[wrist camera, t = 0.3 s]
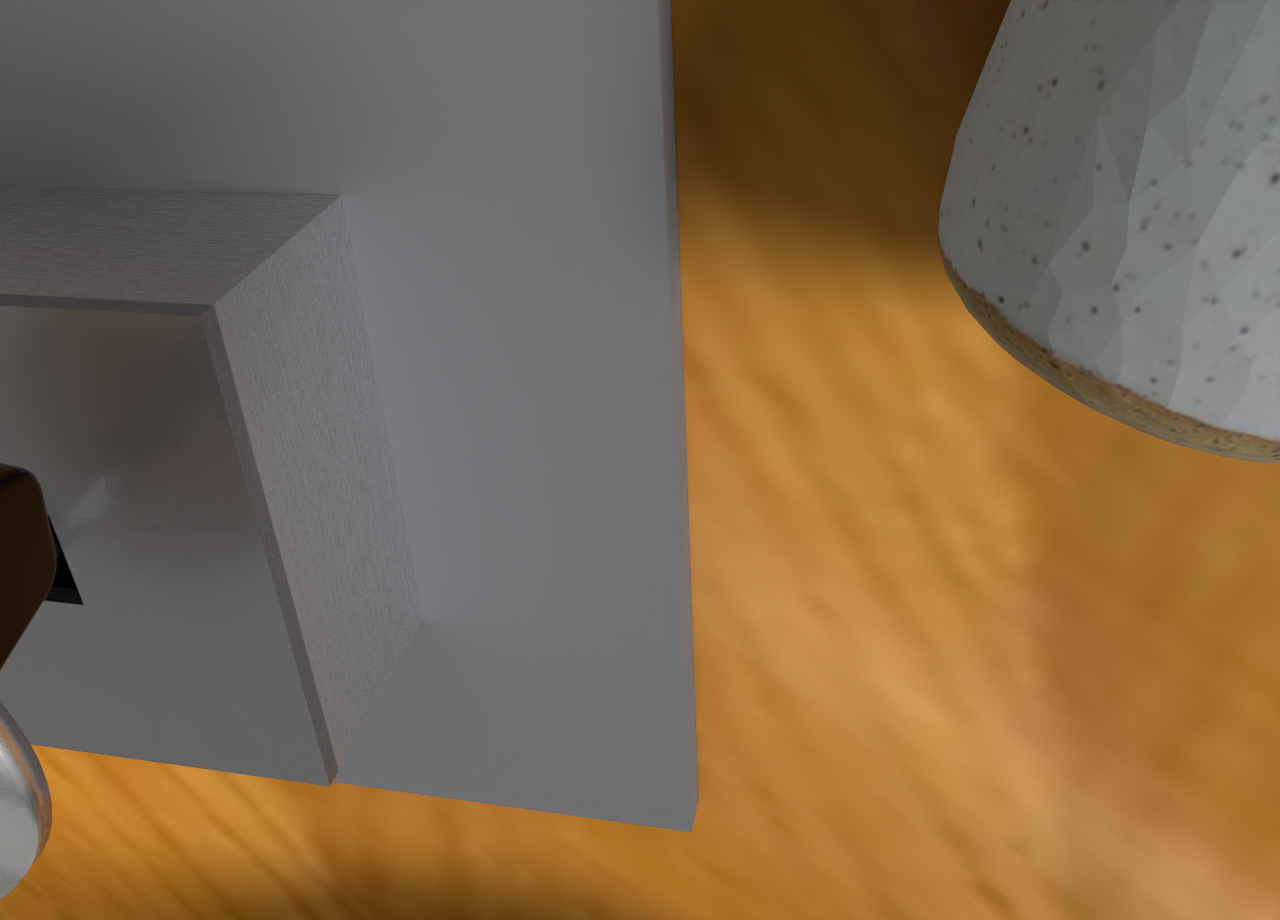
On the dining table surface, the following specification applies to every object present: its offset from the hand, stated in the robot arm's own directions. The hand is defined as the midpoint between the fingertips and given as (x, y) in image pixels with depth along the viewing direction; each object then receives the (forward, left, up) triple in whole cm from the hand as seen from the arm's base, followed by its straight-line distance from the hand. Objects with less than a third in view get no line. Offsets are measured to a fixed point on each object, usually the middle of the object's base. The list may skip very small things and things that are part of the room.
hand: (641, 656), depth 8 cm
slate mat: (-7, +14, -14) cm, 21 cm away
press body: (-7, +14, -13) cm, 20 cm away
